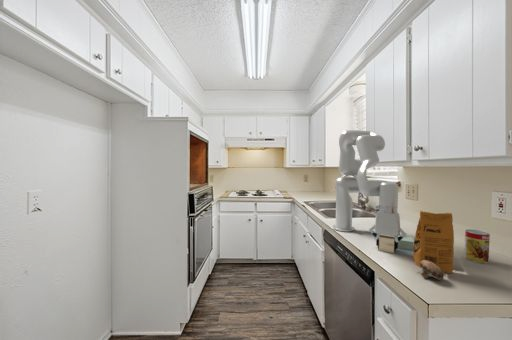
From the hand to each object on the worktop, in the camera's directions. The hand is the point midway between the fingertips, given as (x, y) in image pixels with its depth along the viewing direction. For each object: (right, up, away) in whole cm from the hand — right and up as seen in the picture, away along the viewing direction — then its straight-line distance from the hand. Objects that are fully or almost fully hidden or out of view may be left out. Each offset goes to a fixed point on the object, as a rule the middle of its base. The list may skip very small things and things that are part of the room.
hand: (386, 248), depth 119 cm
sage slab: (+10, -1, +5) cm, 11 cm away
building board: (+6, -2, +2) cm, 7 cm away
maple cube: (0, -1, 0) cm, 1 cm away
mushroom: (+2, -3, -26) cm, 27 cm away
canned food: (+34, -3, -8) cm, 35 cm away
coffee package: (+9, -3, -17) cm, 20 cm away
